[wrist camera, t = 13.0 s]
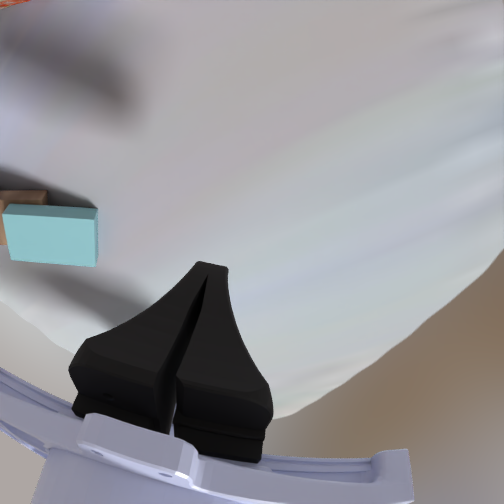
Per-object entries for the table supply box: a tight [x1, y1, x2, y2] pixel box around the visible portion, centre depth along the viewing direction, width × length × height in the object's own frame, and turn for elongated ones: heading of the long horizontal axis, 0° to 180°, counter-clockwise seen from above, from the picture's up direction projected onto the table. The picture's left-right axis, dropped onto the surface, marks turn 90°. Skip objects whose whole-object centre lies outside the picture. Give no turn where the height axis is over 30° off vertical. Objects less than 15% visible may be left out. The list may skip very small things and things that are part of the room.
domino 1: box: [0, 190, 48, 245], centre depth 22 cm, size 2×5×9 cm
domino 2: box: [2, 204, 98, 267], centre depth 23 cm, size 2×5×9 cm
